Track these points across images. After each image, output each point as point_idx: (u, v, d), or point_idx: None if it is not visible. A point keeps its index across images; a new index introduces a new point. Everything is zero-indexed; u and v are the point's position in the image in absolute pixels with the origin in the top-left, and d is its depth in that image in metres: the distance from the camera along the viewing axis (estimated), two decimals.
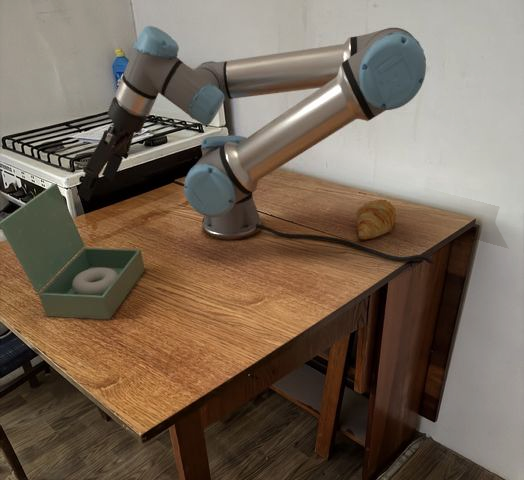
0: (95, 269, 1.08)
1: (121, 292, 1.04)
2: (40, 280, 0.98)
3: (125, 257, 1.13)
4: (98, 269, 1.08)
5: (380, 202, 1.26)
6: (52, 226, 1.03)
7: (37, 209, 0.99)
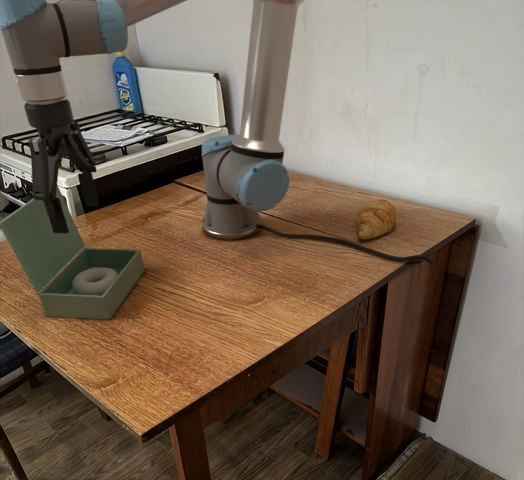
0: (95, 269, 1.08)
1: (121, 292, 1.04)
2: (40, 280, 0.98)
3: (125, 257, 1.13)
4: (98, 269, 1.08)
5: (380, 202, 1.26)
6: None
7: (37, 209, 0.99)
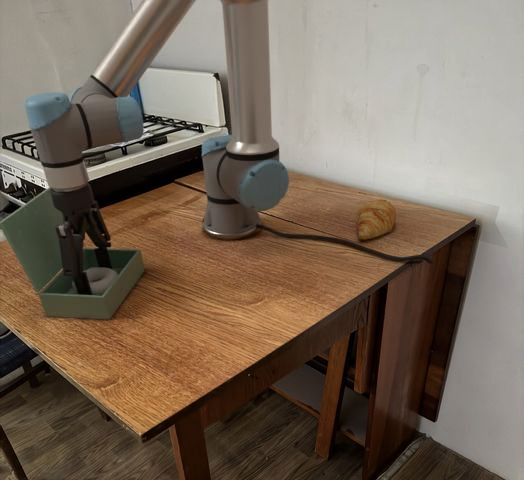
0: (95, 269, 1.08)
1: (121, 292, 1.04)
2: (40, 280, 0.98)
3: (125, 257, 1.13)
4: (98, 269, 1.08)
5: (380, 202, 1.26)
6: (52, 226, 1.03)
7: (37, 209, 0.99)
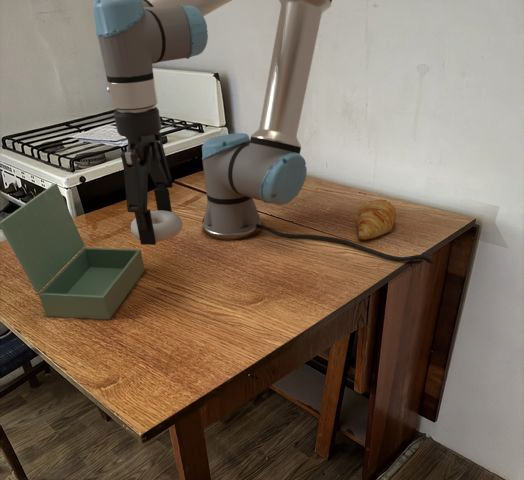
0: (155, 212, 0.98)
1: (121, 292, 1.04)
2: (40, 280, 0.98)
3: (125, 257, 1.13)
4: (158, 212, 0.98)
5: (380, 202, 1.26)
6: (52, 226, 1.03)
7: (37, 209, 0.99)
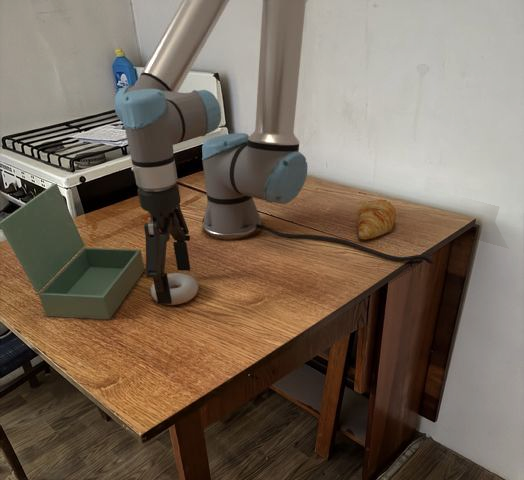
0: (172, 275, 1.06)
1: (121, 292, 1.04)
2: (40, 280, 0.98)
3: (125, 257, 1.13)
4: (175, 275, 1.06)
5: (380, 202, 1.26)
6: (52, 226, 1.03)
7: (37, 209, 0.99)
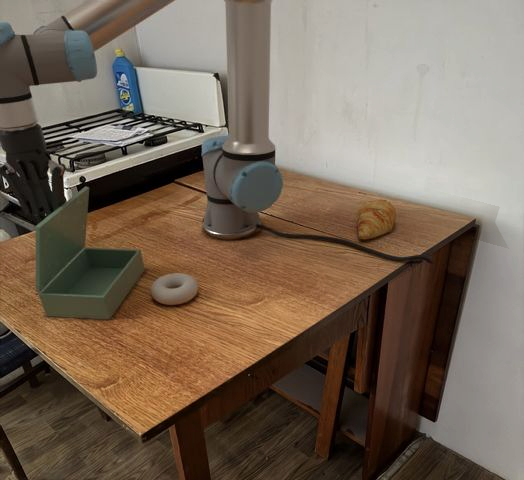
0: (172, 275, 1.06)
1: (121, 292, 1.04)
2: (44, 281, 0.98)
3: (125, 257, 1.13)
4: (175, 275, 1.06)
5: (380, 202, 1.26)
6: (71, 229, 1.03)
7: (67, 213, 0.99)
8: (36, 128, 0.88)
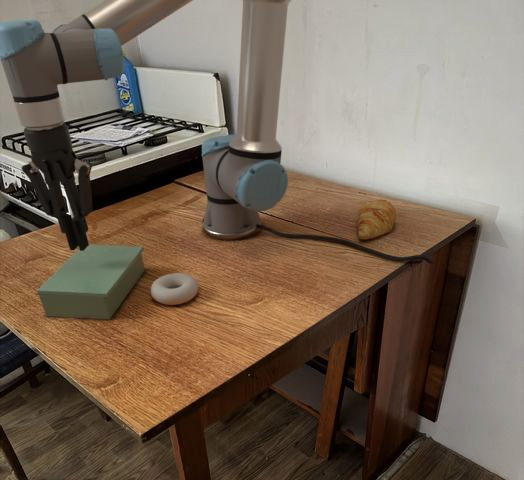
0: (172, 275, 1.06)
1: (121, 292, 1.04)
2: None
3: None
4: (175, 275, 1.06)
5: (380, 202, 1.26)
6: None
7: None
8: (63, 127, 0.88)
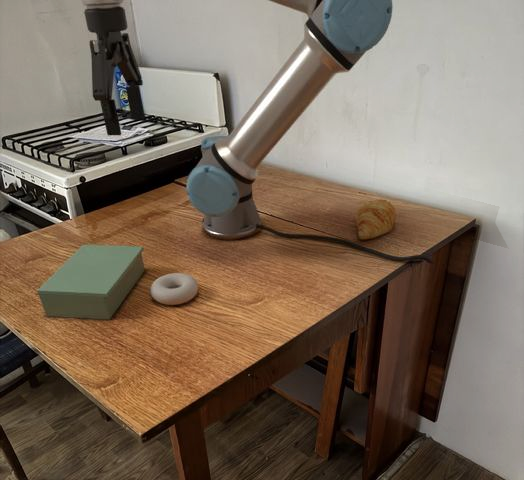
0: (172, 275, 1.06)
1: (121, 292, 1.04)
2: None
3: None
4: (175, 275, 1.06)
5: (380, 202, 1.26)
6: None
7: None
8: None
